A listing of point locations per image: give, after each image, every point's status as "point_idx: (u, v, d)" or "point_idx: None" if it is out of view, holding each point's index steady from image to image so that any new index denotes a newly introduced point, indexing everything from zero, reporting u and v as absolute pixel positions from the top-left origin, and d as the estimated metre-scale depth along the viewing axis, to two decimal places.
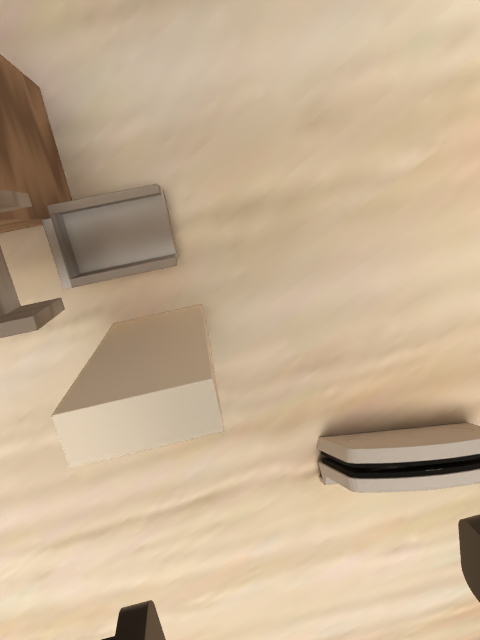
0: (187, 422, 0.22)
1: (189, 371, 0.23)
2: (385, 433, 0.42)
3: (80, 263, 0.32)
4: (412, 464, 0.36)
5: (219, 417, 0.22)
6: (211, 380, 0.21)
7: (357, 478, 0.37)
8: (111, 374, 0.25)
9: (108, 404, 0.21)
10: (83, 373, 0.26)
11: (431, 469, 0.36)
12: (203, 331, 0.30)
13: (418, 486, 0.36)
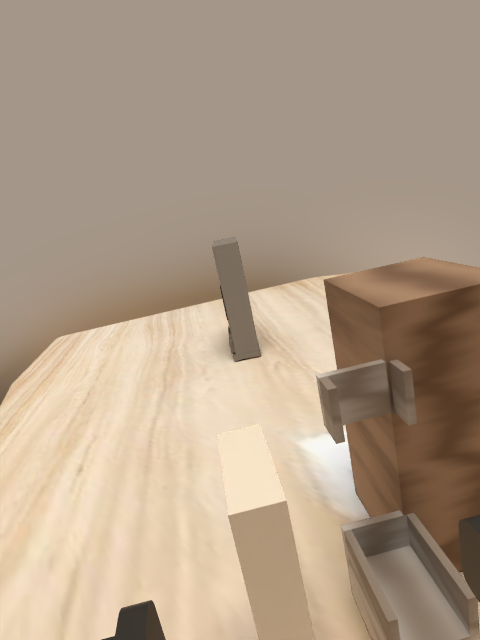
0: (243, 488, 0.23)
1: None
2: None
3: None
4: None
5: (244, 510, 0.21)
6: (284, 499, 0.21)
7: None
8: None
9: (265, 445, 0.26)
10: None
11: None
12: (312, 630, 0.24)
13: None
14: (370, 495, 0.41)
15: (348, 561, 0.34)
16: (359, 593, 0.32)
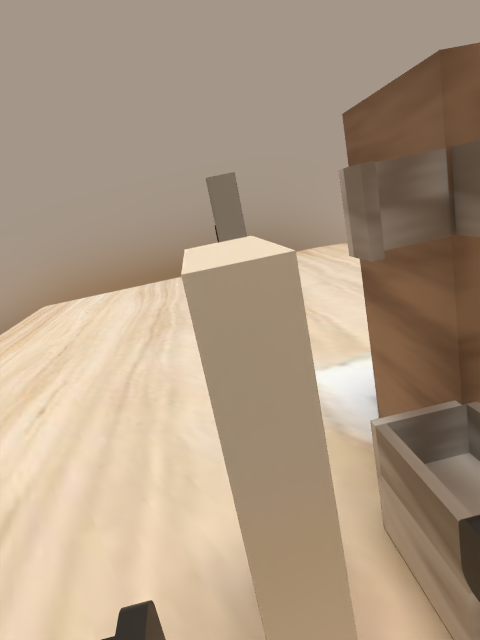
0: (215, 259, 0.12)
1: None
2: None
3: None
4: None
5: (213, 268, 0.11)
6: (291, 250, 0.11)
7: None
8: None
9: (259, 239, 0.16)
10: None
11: None
12: None
13: None
14: (402, 407, 0.30)
15: (380, 473, 0.23)
16: (398, 515, 0.22)
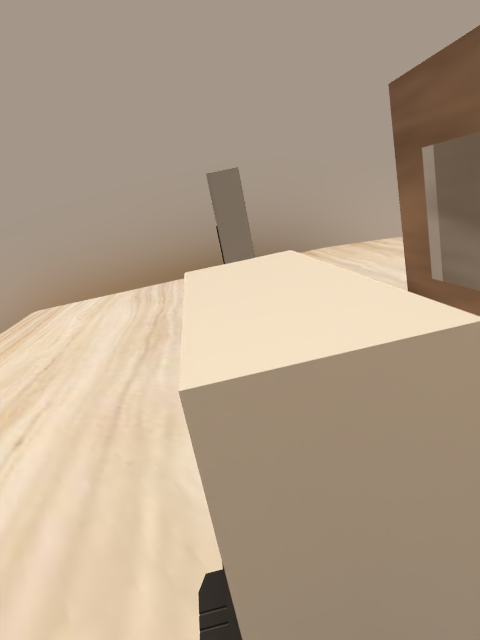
0: (255, 321, 0.06)
1: None
2: None
3: None
4: None
5: (265, 369, 0.04)
6: (475, 318, 0.04)
7: None
8: None
9: (316, 261, 0.09)
10: None
11: None
12: None
13: None
14: None
15: None
16: None
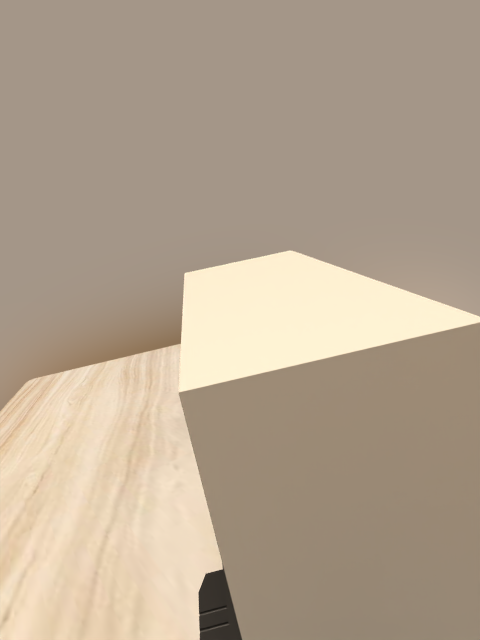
0: (256, 321, 0.06)
1: None
2: None
3: None
4: None
5: (266, 370, 0.04)
6: (476, 318, 0.04)
7: None
8: None
9: (316, 262, 0.09)
10: None
11: None
12: None
13: None
14: None
15: None
16: None
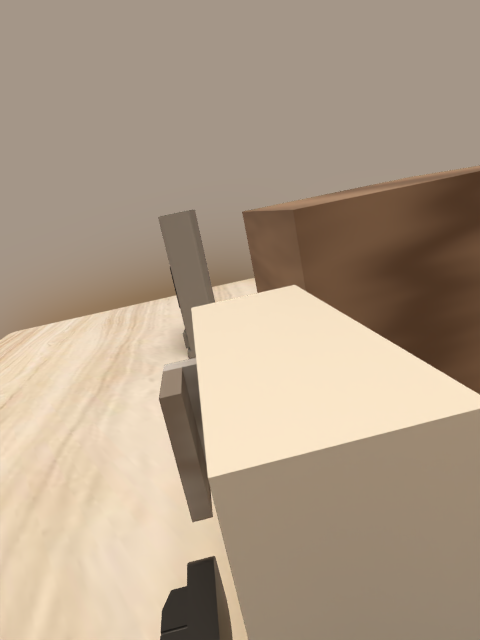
0: (272, 385, 0.06)
1: None
2: None
3: None
4: None
5: (289, 454, 0.04)
6: None
7: None
8: None
9: (322, 305, 0.09)
10: None
11: None
12: None
13: None
14: None
15: None
16: None
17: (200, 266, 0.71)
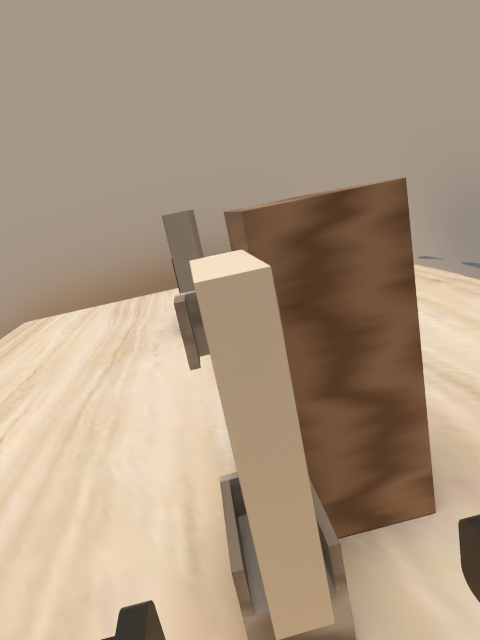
0: (215, 271, 0.18)
1: None
2: None
3: None
4: None
5: (215, 278, 0.16)
6: (268, 266, 0.16)
7: None
8: None
9: (247, 254, 0.21)
10: None
11: None
12: (305, 463, 0.19)
13: None
14: None
15: None
16: None
17: (198, 258, 0.83)
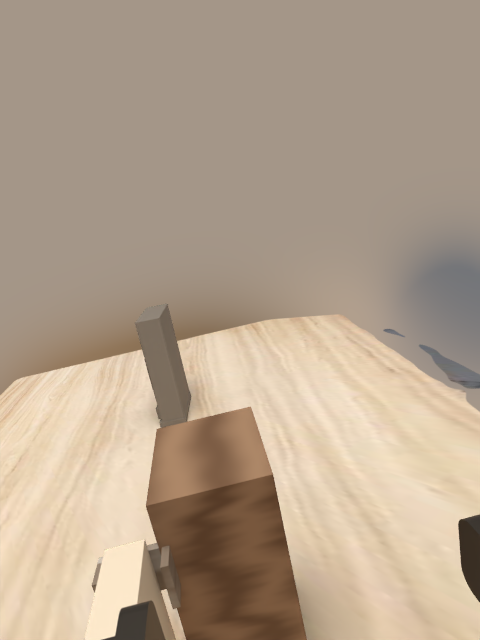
0: (102, 624, 0.26)
1: None
2: None
3: None
4: None
5: None
6: None
7: None
8: (156, 608, 0.31)
9: (139, 569, 0.29)
10: (162, 599, 0.33)
11: None
12: None
13: None
14: None
15: None
16: None
17: (168, 359, 0.91)
